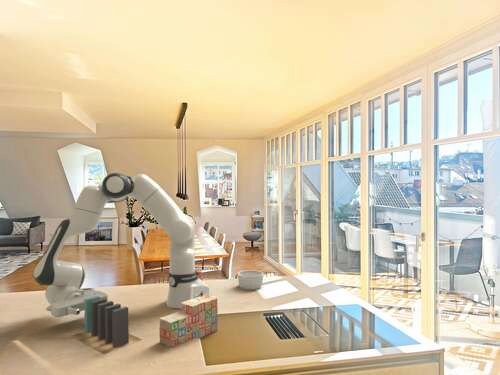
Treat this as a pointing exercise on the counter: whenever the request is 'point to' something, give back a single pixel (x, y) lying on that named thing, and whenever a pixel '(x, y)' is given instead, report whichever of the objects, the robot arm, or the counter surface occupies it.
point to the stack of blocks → (190, 321)
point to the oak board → (101, 342)
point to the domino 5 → (120, 327)
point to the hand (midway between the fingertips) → (90, 308)
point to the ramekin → (250, 279)
